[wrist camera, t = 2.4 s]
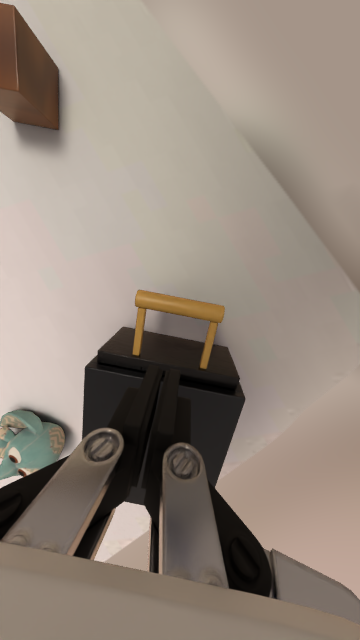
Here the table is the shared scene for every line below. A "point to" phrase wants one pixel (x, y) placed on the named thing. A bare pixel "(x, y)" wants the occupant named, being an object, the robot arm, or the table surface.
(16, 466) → the stuffed animal
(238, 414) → the cabinet
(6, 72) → the block
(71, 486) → the robot arm
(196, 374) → the drawer
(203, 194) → the table surface
